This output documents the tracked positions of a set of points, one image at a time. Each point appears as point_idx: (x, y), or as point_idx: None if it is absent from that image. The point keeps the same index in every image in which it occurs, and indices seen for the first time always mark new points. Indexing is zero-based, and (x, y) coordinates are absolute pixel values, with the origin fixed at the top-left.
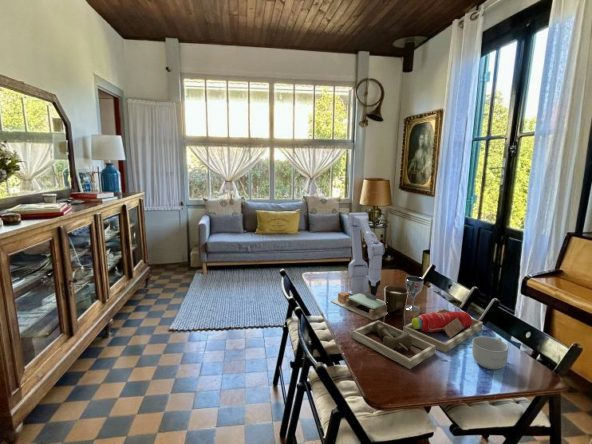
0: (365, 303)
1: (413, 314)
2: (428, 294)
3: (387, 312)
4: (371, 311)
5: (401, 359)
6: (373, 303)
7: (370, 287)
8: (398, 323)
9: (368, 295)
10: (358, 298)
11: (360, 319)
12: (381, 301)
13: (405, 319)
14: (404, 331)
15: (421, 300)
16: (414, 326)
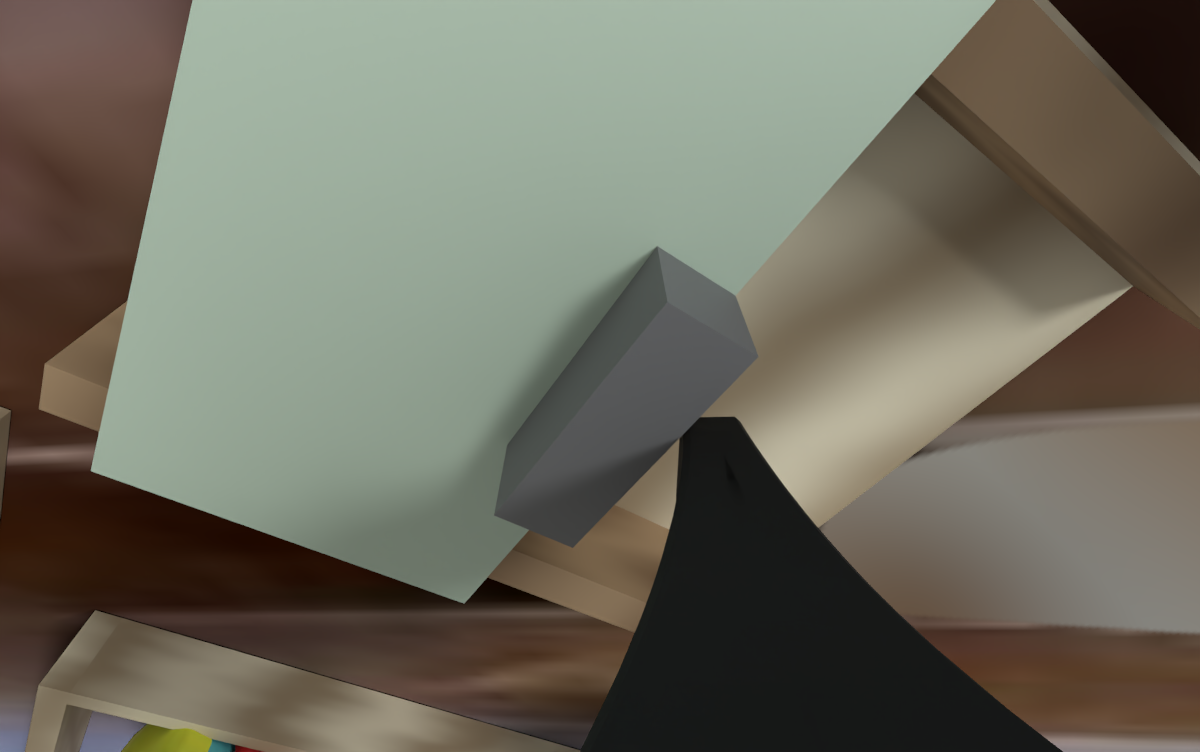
0: (179, 287)
1: (614, 666)
2: (1182, 748)
3: None
4: (45, 398)
5: None
6: (317, 446)
7: (639, 636)
8: (301, 578)
9: (608, 358)
10: (437, 7)
11: (5, 129)
12: (907, 416)
13: (448, 621)
14: (72, 644)
15: (1013, 711)
16: (134, 742)
